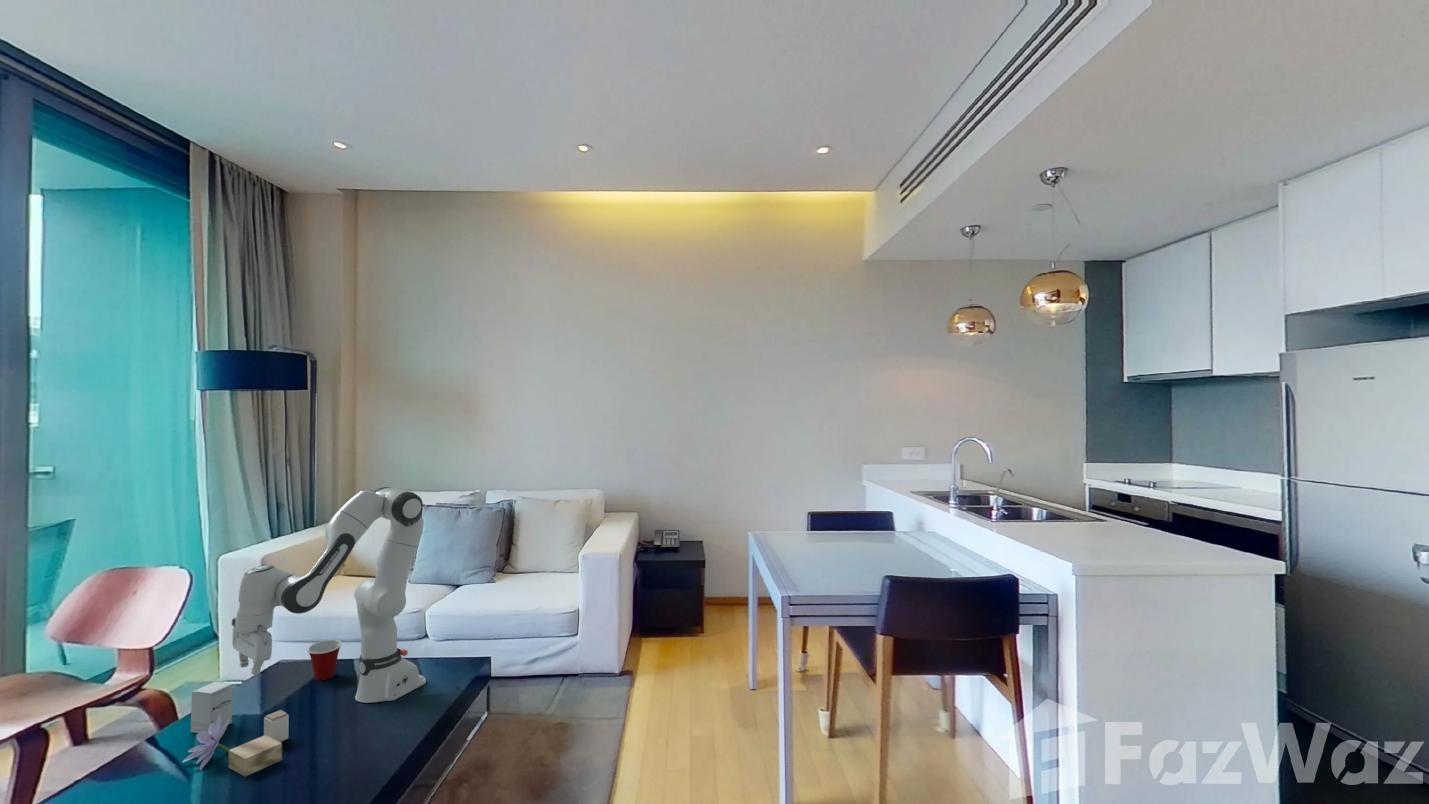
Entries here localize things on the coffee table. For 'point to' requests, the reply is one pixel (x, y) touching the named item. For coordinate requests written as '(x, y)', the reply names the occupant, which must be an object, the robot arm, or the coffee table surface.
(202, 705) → the supplement box
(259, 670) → the robot arm
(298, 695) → the coffee table surface
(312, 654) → the plastic cup
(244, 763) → the oak block
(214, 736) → the water lily
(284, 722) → the pale two-tone block
